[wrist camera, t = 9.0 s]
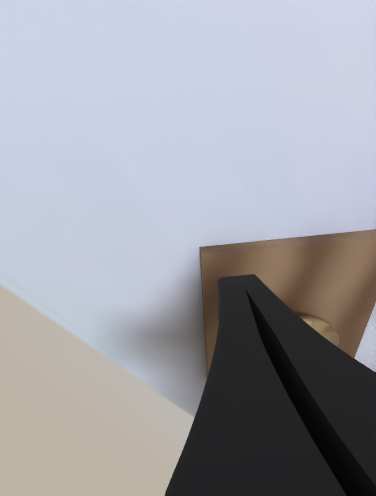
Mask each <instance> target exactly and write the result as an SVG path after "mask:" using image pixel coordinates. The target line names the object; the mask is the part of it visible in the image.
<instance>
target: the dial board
mask: <svg viewBox="0 0 376 496" xmlns="http://www.w3.org/2000/svg"><path fill="white" fill-rule="evenodd" d="M200 260H201V277H202V294H203V312H204V329H205V346H206V364H207V377H208V374H209V370H210V366H211V362H212V358H213V353H214V349H215V344H216V338H217V332H218V325H219V319H218V282H217V280H218V279H219V278H220V277H229V276H239V275H249V274H255V275H256V276H257V277H258V278H259V279H260V280H261V281H262V282H263V283H264V284H265V285H266V286H267V287H268V288H269V289H270V290H271V291H272V292H273V293H274V294H275V295H276V296H277V297H278V298H279V299H281V300H282V301H283V302H284V303H285V304H286V305H287V306H288V307H289V308H290V309H291V310H293V311H294V312H295V313H296V314H297V315H298V316H316V317H320V318H323V319H325V320H327V321H328V322H329V323H330V324H331V325H332V326H333V328H334V329H335V331H336V332H337V334H338V338H339V342H338V346H337V347H338V348H340V349H341V350H343V351H344V352H345V353H347V354H348V355H350V356H351V357H353V358H354V357H355V355H356V352H357V349H358V347H359V344H360V341H361V339H362V336H363V334H364V331H365V328H366V326H367V323H368V320H369V318H370V315H371V313H372V310H373V307H374V305H375V302H376V230H367V231H357V232H347V233H337V234H327V235H317V236H307V237H297V238H287V239H277V240H267V241H256V242H246V243H236V244H226V245H216V246H206V247H200Z"/></svg>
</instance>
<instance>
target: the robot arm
mask: <svg viewBox="0 0 376 496" xmlns="http://www.w3.org/2000/svg"><path fill="white" fill-rule="evenodd" d="M217 282H218V319H219V325H218V332H217V338H216V344H215V349H214V353H213V358H212V362H211V366H210V370H209V374H208V377H207V381H206V384H205V388H204V391H203V395H202V398H201V401H200V404H199V407H198V410H197V413H196V416H195V418H194V422H193V424H192V427H191V430H190V433H189V436H188V438H187V441H186V443H185V446H184V449H183V451H182V454H181V456H180V458H179V461H178V463H177V466H176V468H175V470H174V473H173V475H172V478H171V480H170V483H169V485H168V487H167V490H166V493H165V496H376V372H374V371H372V370H371V369H369V368H368V367H366V366H365V365H363V364H362V363H360V362H358V361H357V360H355V359H354V358H353V357H351V356H350V355H348V354H347V353H345V352H344V351H343V350H341V349H340V348H338V347H337V346H335V345H334V344H333V343H331V342H330V341H329V340H327V339H326V338H325V337H323V336H322V335H321V334H320V333H318V332H317V331H316V330H315V329H314V328H312V327H311V326H310V325H309V324H307V323H306V322H305V321H304V320H303V319H302V318H300V317H299V316H298V315H297V314H296V313H295V312H294V311H293V310H291V309H290V308H289V307H288V306H287V305H286V304H285V303H284V302H283V301H282V300H281V299H279V298H278V297H277V296H276V295H275V294H274V293H273V292H272V291H271V290H270V289H269V288H268V287H267V286H266V285H265V284H264V283H263V282H262V281H261V280H260V279H259V278H258V277H257V276H256V275H255V274H249V275H239V276H229V277H220V278H219V279H218V280H217Z"/></svg>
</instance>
